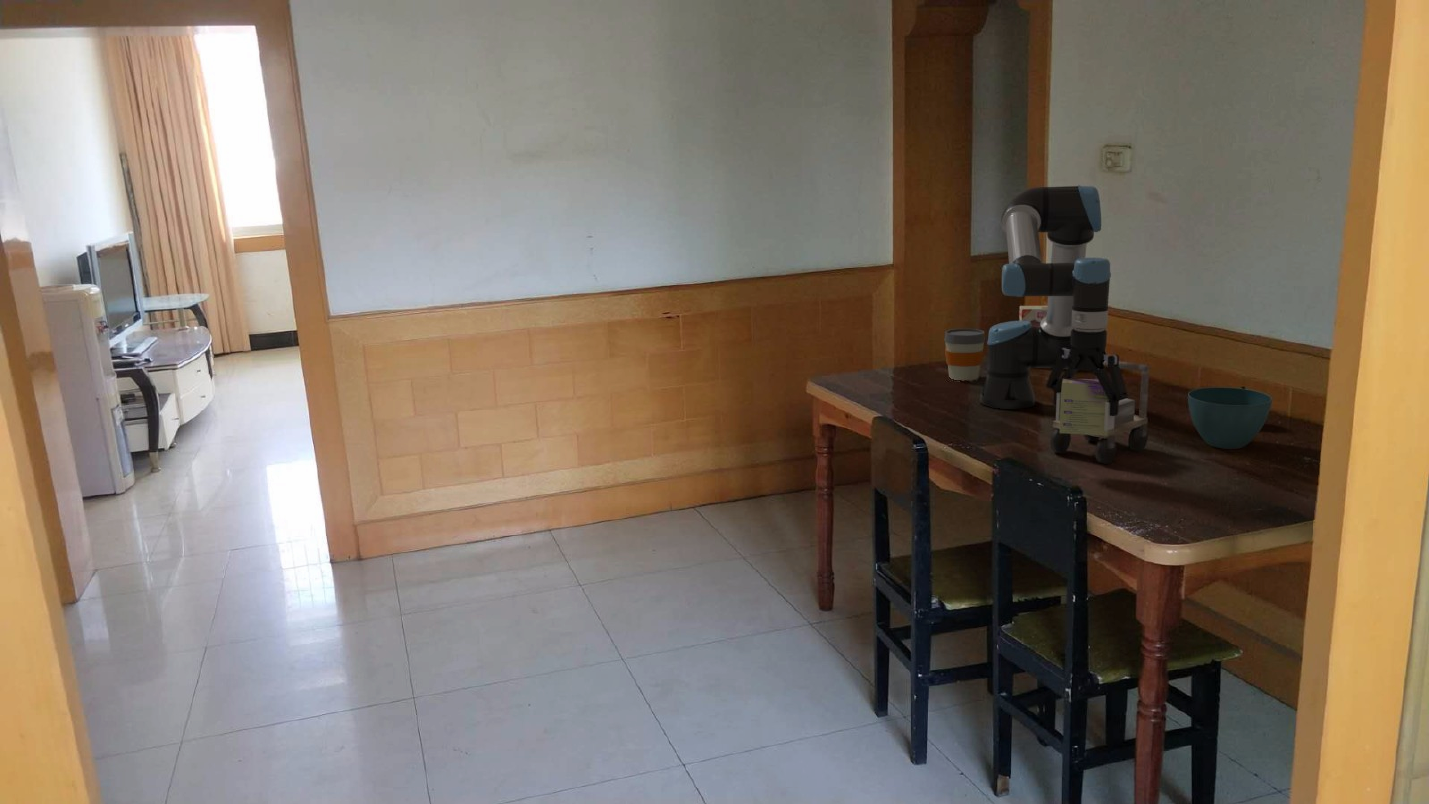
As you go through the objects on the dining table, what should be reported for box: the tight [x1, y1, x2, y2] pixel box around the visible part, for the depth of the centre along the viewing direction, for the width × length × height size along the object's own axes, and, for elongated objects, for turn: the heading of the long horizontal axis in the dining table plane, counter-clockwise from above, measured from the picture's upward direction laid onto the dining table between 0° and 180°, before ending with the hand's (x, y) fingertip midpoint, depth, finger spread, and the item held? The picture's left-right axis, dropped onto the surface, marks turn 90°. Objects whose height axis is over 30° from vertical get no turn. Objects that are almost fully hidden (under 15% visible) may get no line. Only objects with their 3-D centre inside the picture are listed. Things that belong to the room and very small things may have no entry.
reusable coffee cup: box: [943, 328, 986, 381], centre depth 333 cm, size 13×12×15 cm
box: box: [1060, 377, 1109, 436], centre depth 236 cm, size 10×6×12 cm, turn 71°
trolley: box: [1049, 360, 1151, 465], centre depth 252 cm, size 15×20×21 cm
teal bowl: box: [1187, 386, 1273, 450], centre depth 255 cm, size 18×18×12 cm
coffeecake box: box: [1018, 305, 1047, 327], centre depth 348 cm, size 15×7×20 cm, turn 80°
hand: (1084, 424), depth 237 cm, fingers closed on box, 11 cm apart
